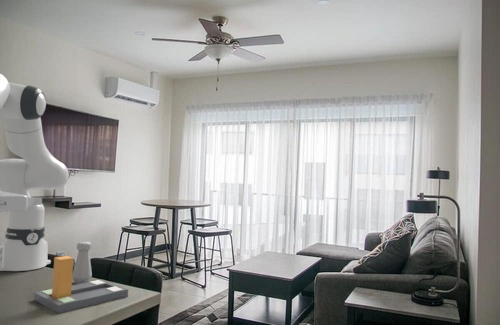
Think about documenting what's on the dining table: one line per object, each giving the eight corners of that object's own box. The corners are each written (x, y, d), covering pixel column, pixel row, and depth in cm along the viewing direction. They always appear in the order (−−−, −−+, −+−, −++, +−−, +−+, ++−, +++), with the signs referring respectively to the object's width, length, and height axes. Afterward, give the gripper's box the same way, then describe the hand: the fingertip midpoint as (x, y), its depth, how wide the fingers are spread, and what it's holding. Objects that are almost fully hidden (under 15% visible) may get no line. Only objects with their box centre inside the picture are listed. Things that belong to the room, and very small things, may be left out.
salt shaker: (83, 286, 118) (86, 244, 119) (67, 284, 119) (70, 242, 120) (95, 281, 124) (97, 241, 124) (79, 279, 125) (82, 240, 126)
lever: (51, 298, 102) (54, 257, 103) (64, 295, 105) (67, 255, 106) (57, 301, 100) (60, 259, 101) (70, 298, 103) (73, 258, 103)
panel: (34, 299, 104) (34, 291, 104) (101, 285, 120) (102, 278, 120) (58, 313, 95) (58, 304, 95) (127, 296, 111) (128, 288, 111)
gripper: (-16, 189, 80) (52, 189, 90) (-45, 184, 92) (17, 185, 103) (-19, 219, 79) (50, 216, 90) (-48, 210, 92) (15, 208, 103)
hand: (32, 199), depth 97 cm, fingers open, 8 cm apart
